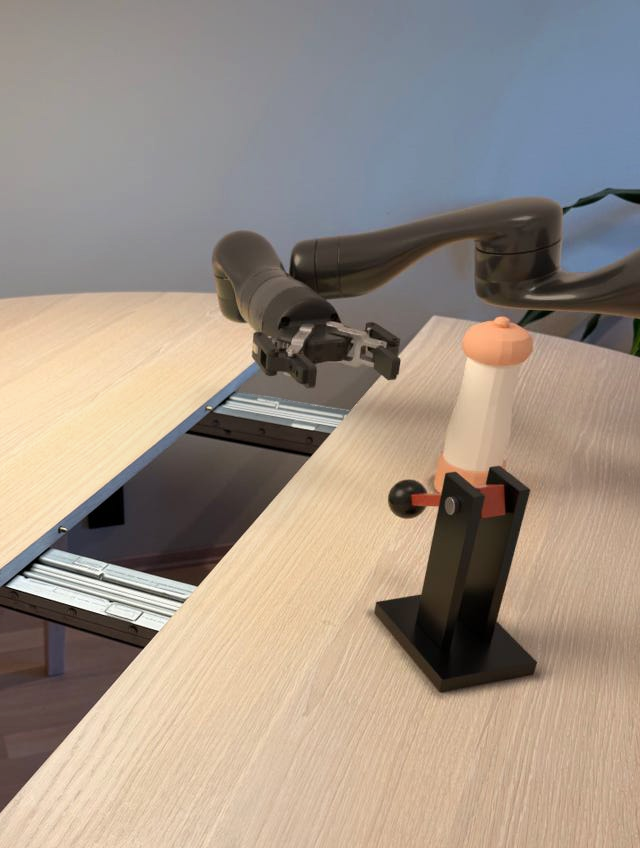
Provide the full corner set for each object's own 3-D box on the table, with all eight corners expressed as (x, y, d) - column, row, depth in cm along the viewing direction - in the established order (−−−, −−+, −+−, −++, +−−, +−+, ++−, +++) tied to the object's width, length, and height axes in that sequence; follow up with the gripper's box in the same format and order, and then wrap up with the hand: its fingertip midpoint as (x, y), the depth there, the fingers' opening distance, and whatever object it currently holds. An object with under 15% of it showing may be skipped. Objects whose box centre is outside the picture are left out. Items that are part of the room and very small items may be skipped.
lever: (382, 520, 91) (379, 481, 91) (417, 515, 92) (414, 477, 92) (474, 527, 77) (471, 481, 76) (514, 521, 78) (511, 475, 77)
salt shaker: (512, 489, 110) (554, 318, 99) (476, 510, 106) (516, 334, 95) (457, 467, 115) (490, 301, 103) (420, 486, 111) (451, 316, 99)
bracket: (373, 613, 90) (400, 455, 81) (460, 598, 92) (496, 443, 83) (439, 692, 81) (477, 524, 72) (534, 674, 83) (583, 508, 74)
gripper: (348, 349, 111) (415, 404, 98) (228, 359, 108) (281, 418, 95) (357, 281, 106) (427, 330, 94) (232, 290, 103) (287, 342, 91)
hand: (353, 374), depth 94 cm, fingers open, 8 cm apart
